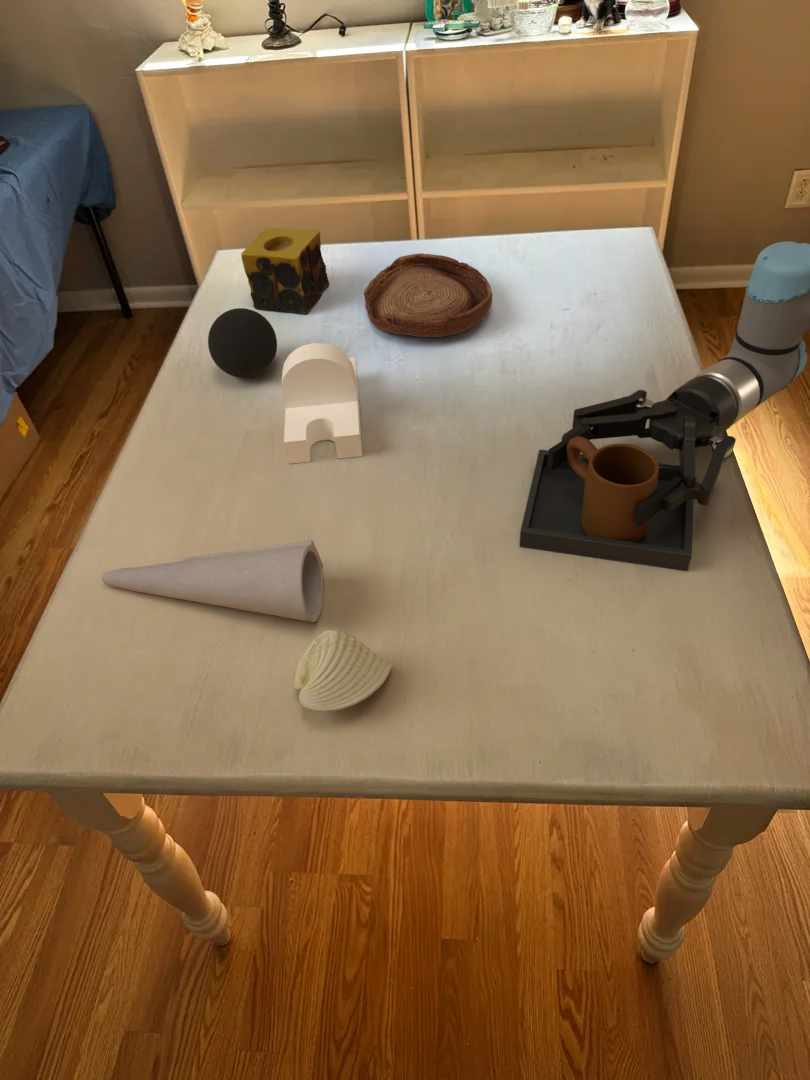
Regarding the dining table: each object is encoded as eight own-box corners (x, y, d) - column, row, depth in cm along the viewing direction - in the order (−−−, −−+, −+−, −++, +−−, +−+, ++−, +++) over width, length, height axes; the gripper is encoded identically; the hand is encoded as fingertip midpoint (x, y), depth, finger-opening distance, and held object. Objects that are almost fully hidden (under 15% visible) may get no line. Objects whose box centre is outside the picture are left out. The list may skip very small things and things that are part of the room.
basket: (347, 295, 133) (343, 268, 129) (454, 266, 137) (453, 238, 134) (397, 362, 118) (395, 333, 115) (515, 326, 123) (516, 298, 119)
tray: (687, 571, 86) (691, 555, 85) (519, 546, 91) (520, 531, 89) (690, 483, 96) (694, 467, 94) (538, 464, 100) (539, 449, 98)
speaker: (204, 374, 120) (186, 315, 112) (257, 346, 124) (243, 288, 117) (242, 399, 114) (226, 340, 107) (295, 369, 119) (283, 310, 112)
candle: (330, 285, 136) (321, 229, 129) (308, 316, 129) (298, 258, 122) (277, 280, 138) (265, 225, 131) (252, 310, 132) (239, 253, 125)
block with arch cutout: (362, 456, 104) (352, 387, 96) (289, 464, 104) (273, 395, 96) (357, 377, 116) (348, 311, 108) (291, 384, 116) (277, 318, 108)
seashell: (272, 661, 79) (325, 604, 79) (332, 702, 83) (383, 648, 83) (286, 705, 72) (344, 642, 72) (350, 747, 76) (406, 688, 76)
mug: (540, 504, 94) (545, 442, 88) (586, 477, 97) (594, 415, 91) (614, 560, 87) (625, 497, 80) (661, 529, 90) (676, 466, 83)
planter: (63, 610, 83) (296, 592, 78) (89, 549, 89) (308, 528, 84) (97, 652, 89) (317, 636, 84) (120, 591, 94) (327, 574, 90)
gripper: (793, 473, 92) (677, 568, 83) (627, 387, 105) (513, 461, 96) (812, 422, 86) (691, 518, 77) (635, 338, 100) (515, 412, 91)
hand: (592, 487), depth 87 cm, fingers closed on mug, 12 cm apart
